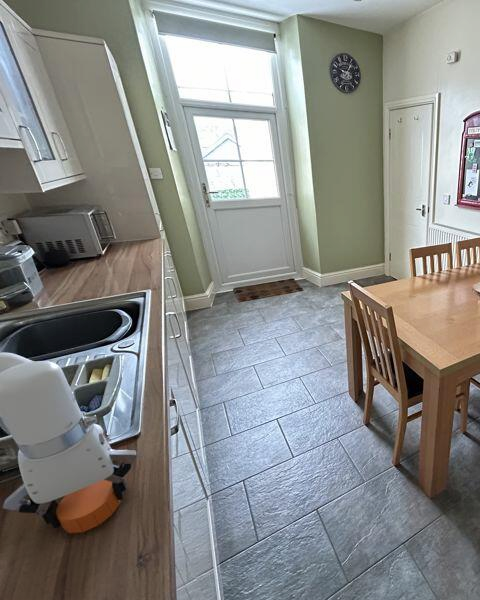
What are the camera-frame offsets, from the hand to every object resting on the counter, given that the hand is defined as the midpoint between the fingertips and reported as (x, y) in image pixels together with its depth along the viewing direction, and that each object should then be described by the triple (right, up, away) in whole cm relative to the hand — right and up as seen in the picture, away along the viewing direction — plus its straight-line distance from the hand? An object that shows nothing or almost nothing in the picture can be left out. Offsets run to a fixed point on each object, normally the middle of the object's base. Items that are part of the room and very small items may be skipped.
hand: (91, 506), depth 59 cm
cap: (0, -1, 0) cm, 1 cm away
